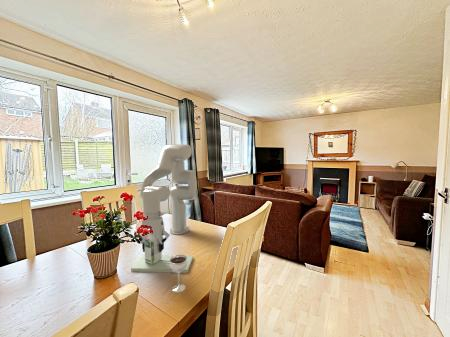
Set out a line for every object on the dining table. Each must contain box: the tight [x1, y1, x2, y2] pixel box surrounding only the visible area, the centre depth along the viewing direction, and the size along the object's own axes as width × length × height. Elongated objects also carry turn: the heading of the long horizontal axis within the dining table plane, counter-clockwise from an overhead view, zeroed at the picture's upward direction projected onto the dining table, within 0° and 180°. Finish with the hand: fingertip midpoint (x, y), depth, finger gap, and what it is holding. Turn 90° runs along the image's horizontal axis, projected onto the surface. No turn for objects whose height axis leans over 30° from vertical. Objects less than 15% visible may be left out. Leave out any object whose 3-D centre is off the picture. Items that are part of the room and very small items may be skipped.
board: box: [130, 254, 194, 274], centre depth 94 cm, size 12×26×2 cm, turn 87°
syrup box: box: [144, 233, 163, 264], centre depth 94 cm, size 6×6×14 cm
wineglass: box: [170, 254, 187, 293], centre depth 77 cm, size 7×7×12 cm
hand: (153, 250), depth 94 cm, fingers closed on syrup box, 7 cm apart
